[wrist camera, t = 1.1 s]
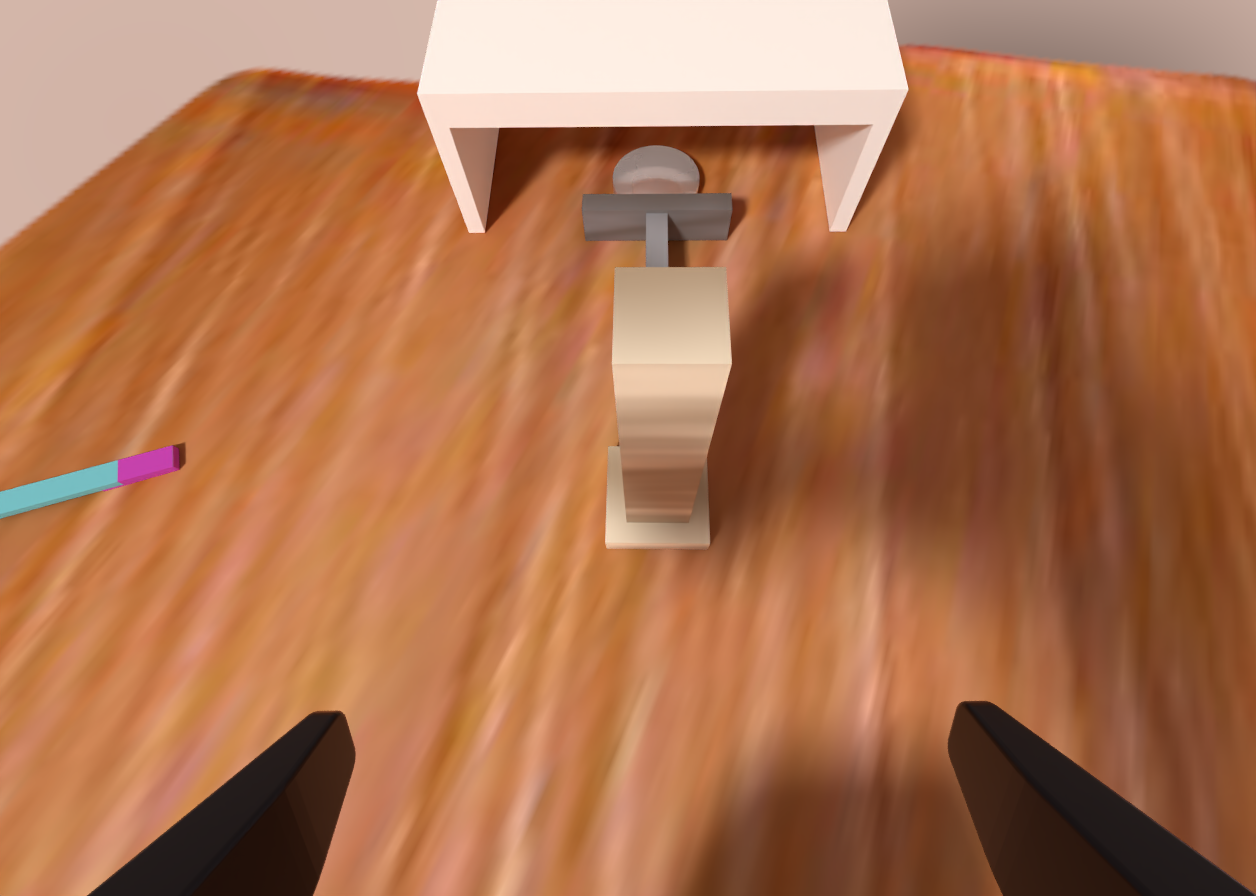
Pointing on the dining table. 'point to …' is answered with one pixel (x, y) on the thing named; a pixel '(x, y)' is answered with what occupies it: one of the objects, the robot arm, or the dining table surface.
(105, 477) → the squeegee
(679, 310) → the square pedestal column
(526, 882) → the dining table surface
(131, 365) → the dining table surface
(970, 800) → the robot arm
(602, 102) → the white footstool bench
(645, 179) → the steel token
